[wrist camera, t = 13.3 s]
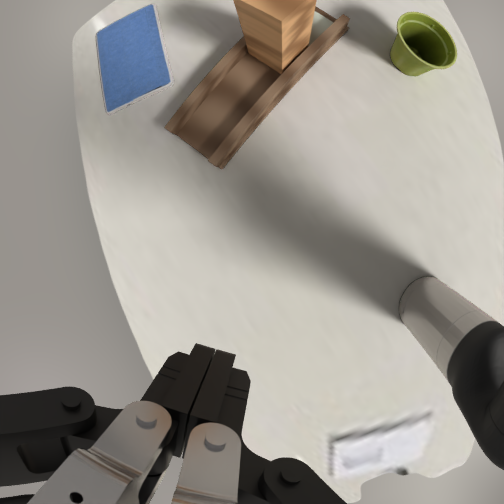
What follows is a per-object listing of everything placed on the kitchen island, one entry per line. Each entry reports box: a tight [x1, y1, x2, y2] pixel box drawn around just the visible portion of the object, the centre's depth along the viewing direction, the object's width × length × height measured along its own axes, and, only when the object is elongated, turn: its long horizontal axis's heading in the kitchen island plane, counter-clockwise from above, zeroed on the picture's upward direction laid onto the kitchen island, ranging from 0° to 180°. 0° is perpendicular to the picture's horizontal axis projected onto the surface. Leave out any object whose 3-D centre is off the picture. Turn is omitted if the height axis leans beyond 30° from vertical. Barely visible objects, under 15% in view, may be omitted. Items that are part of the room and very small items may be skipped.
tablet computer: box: [96, 4, 174, 115], centre depth 37 cm, size 19×13×1 cm, turn 16°
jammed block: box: [233, 0, 316, 74], centre depth 27 cm, size 6×6×15 cm
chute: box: [164, 7, 350, 169], centre depth 34 cm, size 30×10×4 cm, turn 141°
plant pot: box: [390, 12, 457, 76], centre depth 29 cm, size 9×9×9 cm
